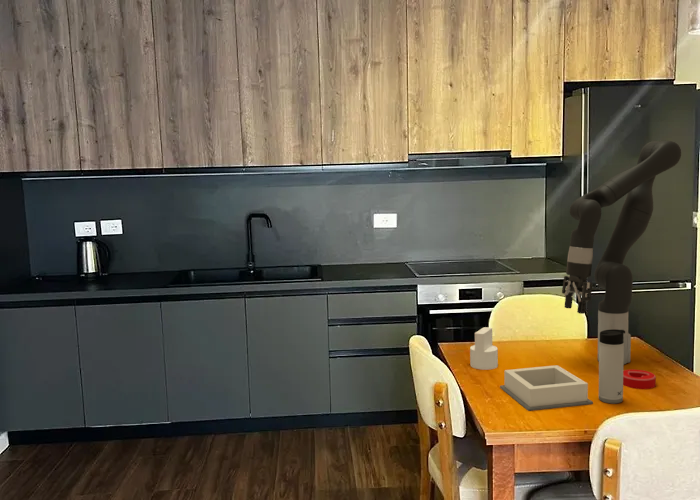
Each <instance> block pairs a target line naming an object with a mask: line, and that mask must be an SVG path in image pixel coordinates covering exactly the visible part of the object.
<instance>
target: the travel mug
mask: <svg viewBox="0 0 700 500" xmlns="http://www.w3.org/2000/svg"><path fill="white" fill-rule="evenodd" d="M624 333H625V331H624V330H617V329H610V330H604V331H601V332H600V341H599V343H600V344H599V361H598V399H599V401H600V402H603V403H606V404H613V405H614V404H620V403H622V402H623V399H624V385H623V371H624V364H623V360H624V340H623V339H624Z"/></svg>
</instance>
